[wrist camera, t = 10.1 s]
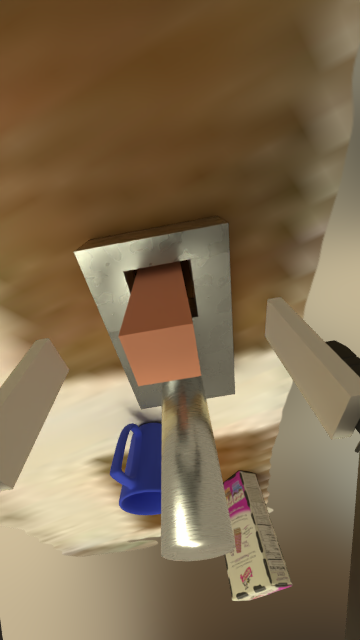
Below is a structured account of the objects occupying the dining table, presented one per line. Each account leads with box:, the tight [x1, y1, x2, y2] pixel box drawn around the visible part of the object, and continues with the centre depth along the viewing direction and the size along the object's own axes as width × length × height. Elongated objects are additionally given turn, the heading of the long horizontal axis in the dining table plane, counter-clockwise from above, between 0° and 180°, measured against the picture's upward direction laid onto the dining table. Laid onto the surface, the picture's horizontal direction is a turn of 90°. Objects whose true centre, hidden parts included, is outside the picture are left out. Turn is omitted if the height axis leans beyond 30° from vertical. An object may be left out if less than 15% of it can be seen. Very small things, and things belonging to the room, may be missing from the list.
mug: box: [110, 423, 162, 515], centre depth 32 cm, size 8×12×10 cm
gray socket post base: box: [74, 216, 235, 561], centre depth 18 cm, size 20×12×18 cm, turn 9°
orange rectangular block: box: [119, 261, 201, 386], centre depth 18 cm, size 4×4×12 cm
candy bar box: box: [223, 471, 292, 601], centre depth 43 cm, size 11×5×16 cm, turn 153°
